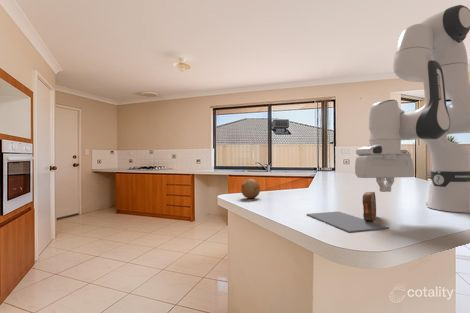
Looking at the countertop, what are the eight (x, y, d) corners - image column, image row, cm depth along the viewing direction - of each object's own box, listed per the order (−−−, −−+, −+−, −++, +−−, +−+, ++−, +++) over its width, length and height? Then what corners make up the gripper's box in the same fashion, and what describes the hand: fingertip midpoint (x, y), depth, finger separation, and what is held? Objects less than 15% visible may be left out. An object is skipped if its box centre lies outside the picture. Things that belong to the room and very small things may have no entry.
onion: (250, 200, 120) (249, 180, 121) (237, 198, 128) (236, 179, 128) (264, 198, 127) (264, 178, 127) (251, 196, 134) (250, 177, 134)
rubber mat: (338, 212, 91) (338, 211, 91) (388, 228, 70) (388, 227, 70) (306, 215, 88) (306, 213, 88) (348, 232, 67) (348, 231, 67)
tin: (372, 223, 73) (373, 195, 73) (360, 222, 75) (361, 194, 75) (376, 215, 86) (377, 191, 86) (366, 214, 88) (366, 190, 88)
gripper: (402, 150, 88) (402, 189, 87) (351, 149, 83) (352, 191, 83) (419, 149, 82) (419, 191, 81) (365, 148, 77) (366, 193, 76)
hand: (385, 191), depth 82 cm, fingers closed
